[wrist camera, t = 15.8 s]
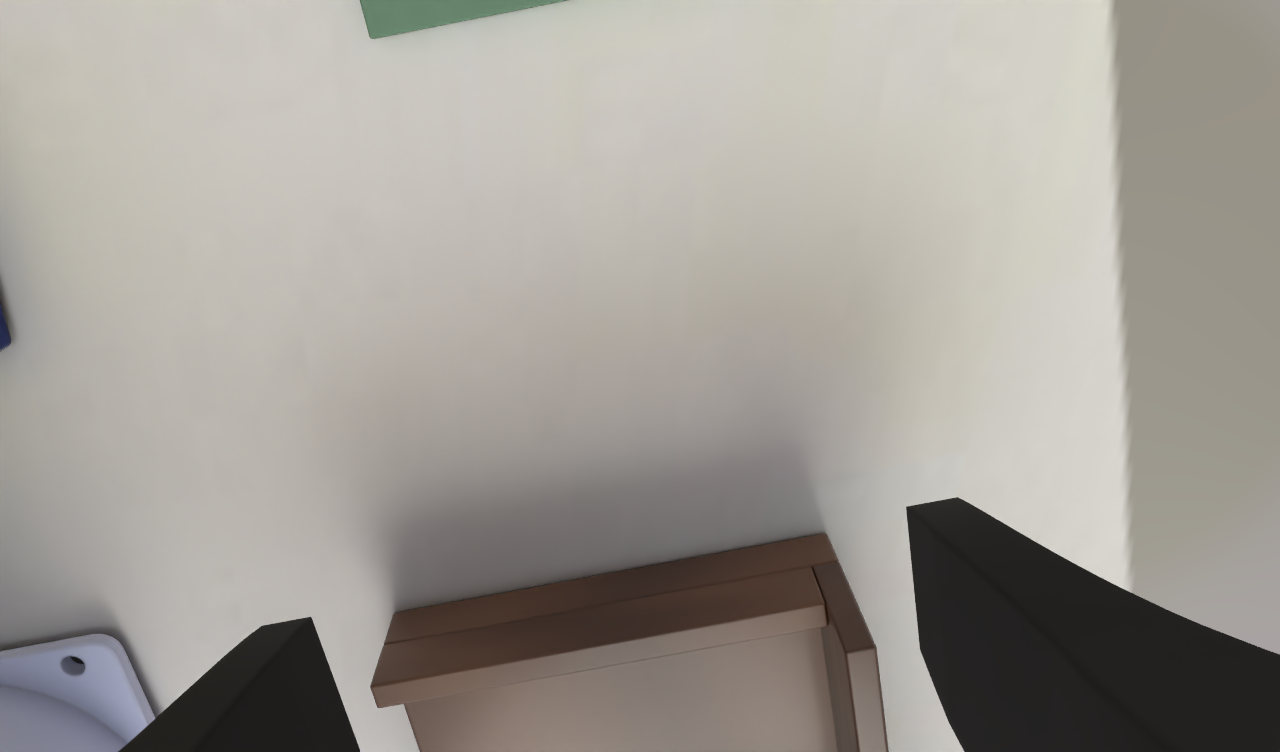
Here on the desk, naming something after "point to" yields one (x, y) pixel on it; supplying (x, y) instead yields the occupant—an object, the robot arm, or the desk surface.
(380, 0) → the green mat
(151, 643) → the desk surface
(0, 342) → the supplement box
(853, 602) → the tray
